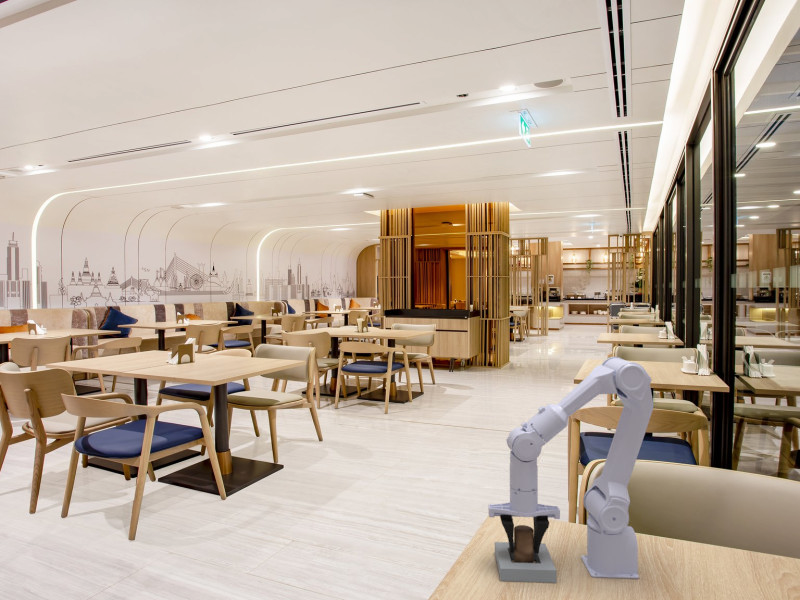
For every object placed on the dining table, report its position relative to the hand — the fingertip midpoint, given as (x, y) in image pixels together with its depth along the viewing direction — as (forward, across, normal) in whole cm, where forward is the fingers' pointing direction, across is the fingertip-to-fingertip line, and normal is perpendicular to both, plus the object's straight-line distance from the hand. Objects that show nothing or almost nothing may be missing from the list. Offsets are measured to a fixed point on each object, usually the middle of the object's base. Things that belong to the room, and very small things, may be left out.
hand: (523, 550), depth 108 cm
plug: (+4, 0, 0) cm, 4 cm away
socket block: (+3, 0, 0) cm, 3 cm away
